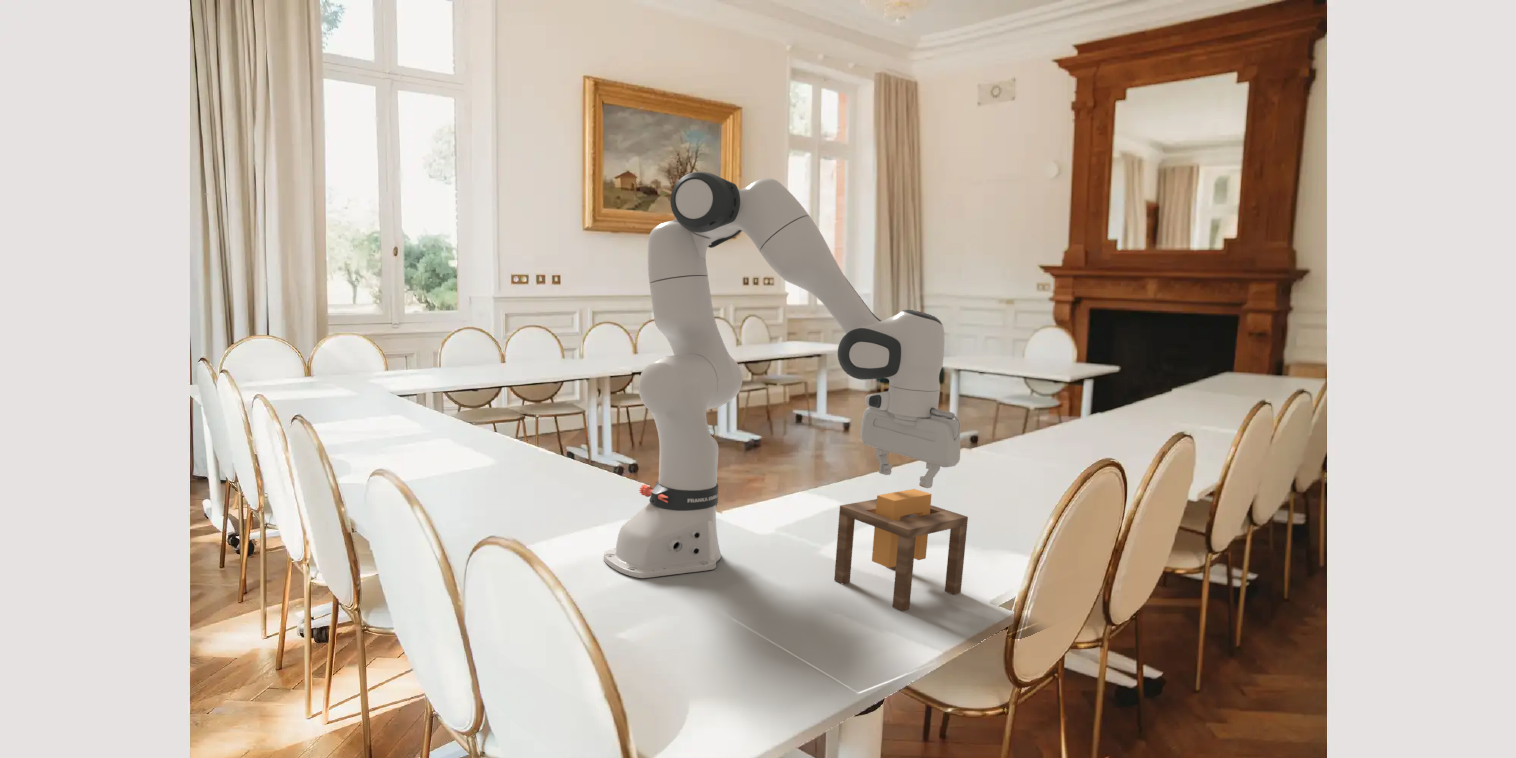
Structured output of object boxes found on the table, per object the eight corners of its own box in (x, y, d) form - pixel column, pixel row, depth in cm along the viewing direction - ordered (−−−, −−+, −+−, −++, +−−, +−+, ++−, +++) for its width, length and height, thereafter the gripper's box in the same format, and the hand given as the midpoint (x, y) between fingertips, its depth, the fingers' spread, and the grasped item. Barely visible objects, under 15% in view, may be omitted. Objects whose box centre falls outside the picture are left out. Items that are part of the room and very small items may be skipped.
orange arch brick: (888, 567, 143) (894, 500, 141) (871, 561, 146) (877, 495, 144) (925, 558, 149) (931, 494, 148) (908, 551, 152) (914, 488, 151)
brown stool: (901, 611, 137) (908, 529, 135) (834, 580, 149) (839, 505, 147) (960, 592, 147) (967, 516, 145) (893, 565, 159) (899, 495, 158)
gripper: (972, 413, 138) (963, 493, 140) (882, 393, 154) (875, 465, 155) (949, 415, 134) (940, 497, 136) (858, 394, 150) (851, 468, 151)
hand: (904, 480), depth 146 cm, fingers open, 8 cm apart
